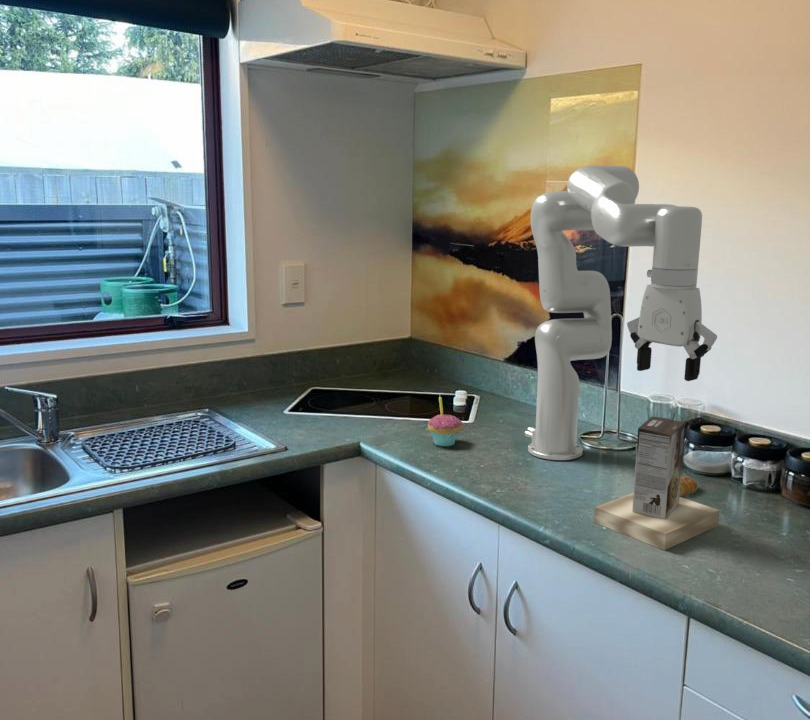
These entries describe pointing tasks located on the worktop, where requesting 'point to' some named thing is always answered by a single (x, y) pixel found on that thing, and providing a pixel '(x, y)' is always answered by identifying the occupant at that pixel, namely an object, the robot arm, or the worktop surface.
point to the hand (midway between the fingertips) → (666, 374)
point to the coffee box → (658, 467)
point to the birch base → (657, 521)
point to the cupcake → (444, 428)
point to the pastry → (687, 486)
